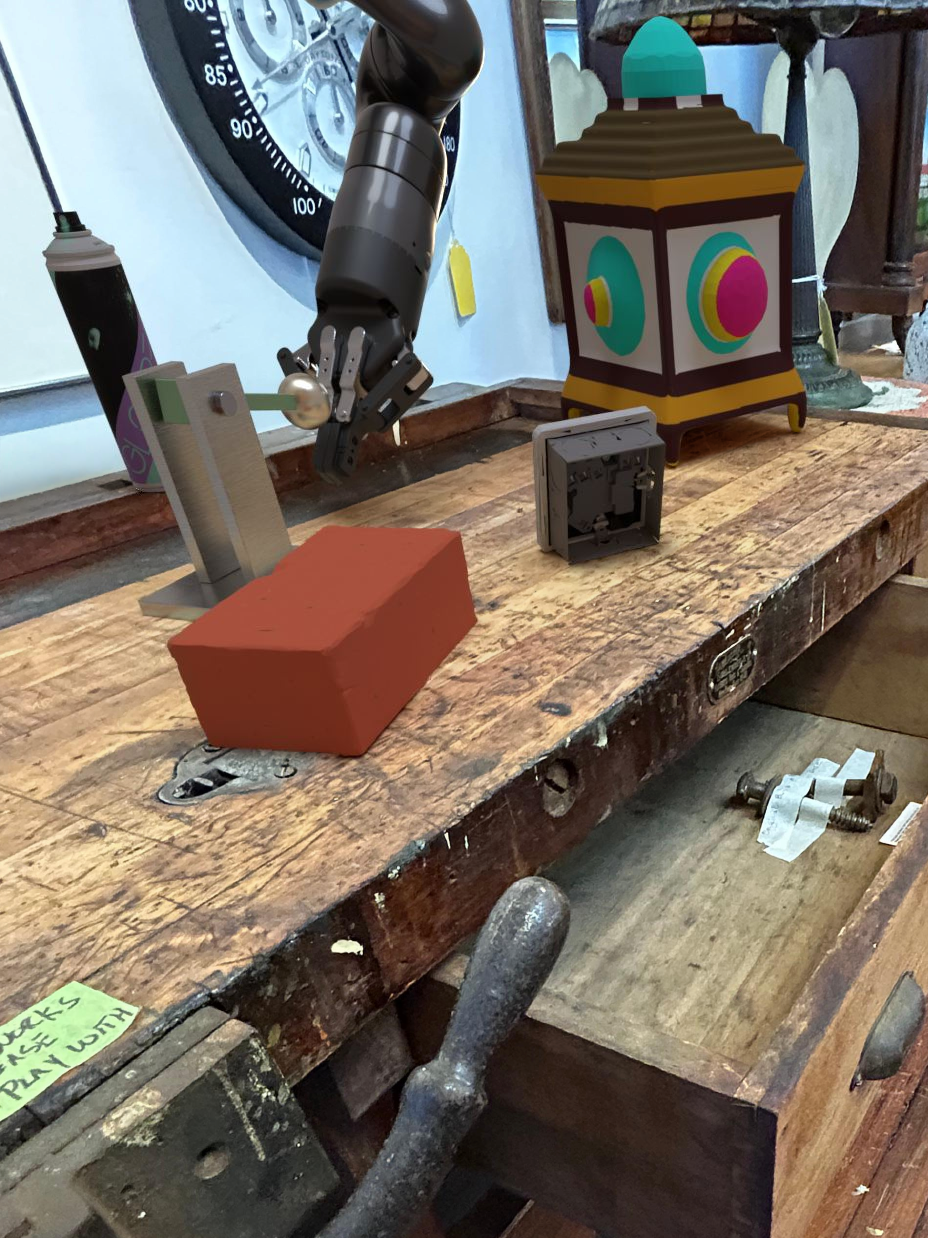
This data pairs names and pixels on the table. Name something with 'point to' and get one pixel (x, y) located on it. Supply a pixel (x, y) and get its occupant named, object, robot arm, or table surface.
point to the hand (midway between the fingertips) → (331, 478)
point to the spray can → (104, 333)
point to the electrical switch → (598, 483)
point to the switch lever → (264, 401)
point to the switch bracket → (210, 486)
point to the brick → (328, 640)
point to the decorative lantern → (675, 250)
